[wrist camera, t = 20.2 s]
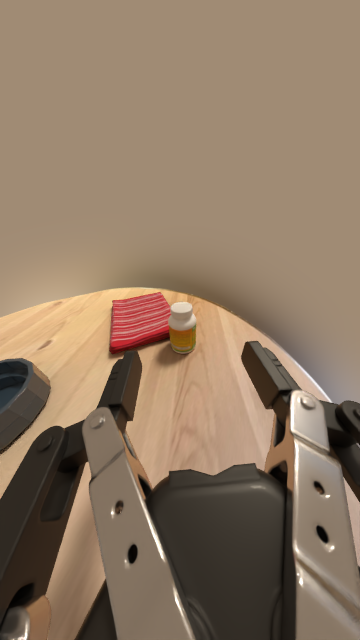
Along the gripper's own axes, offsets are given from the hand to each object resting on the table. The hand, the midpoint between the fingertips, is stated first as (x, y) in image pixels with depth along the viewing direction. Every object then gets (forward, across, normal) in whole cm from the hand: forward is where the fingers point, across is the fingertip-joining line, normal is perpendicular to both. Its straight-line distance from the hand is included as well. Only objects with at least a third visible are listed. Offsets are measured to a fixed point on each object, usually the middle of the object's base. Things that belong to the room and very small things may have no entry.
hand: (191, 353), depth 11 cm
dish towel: (+26, +11, +14) cm, 32 cm away
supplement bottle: (+15, 0, +14) cm, 21 cm away
